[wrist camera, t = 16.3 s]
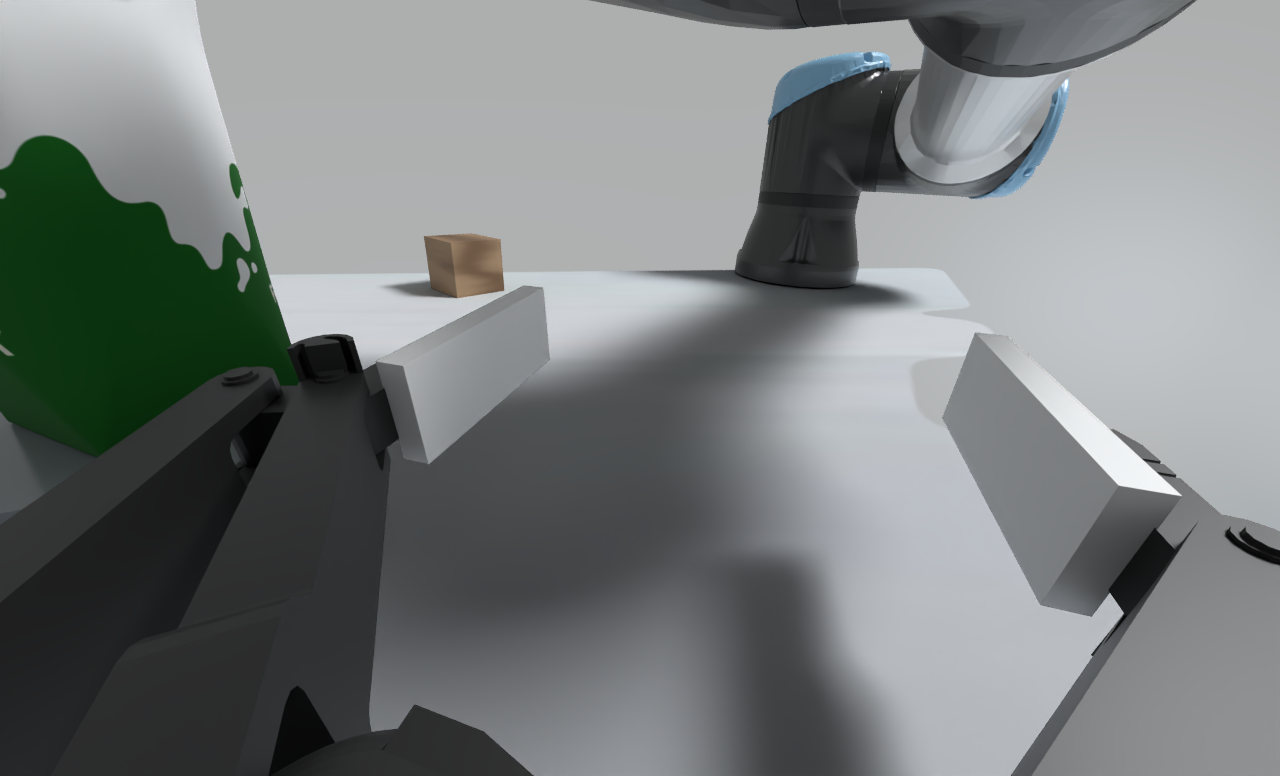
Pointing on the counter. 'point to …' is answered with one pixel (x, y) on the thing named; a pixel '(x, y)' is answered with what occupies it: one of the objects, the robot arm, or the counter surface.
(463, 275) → the walnut block
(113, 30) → the soya milk
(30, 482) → the slate board
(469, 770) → the robot arm
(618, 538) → the counter surface
